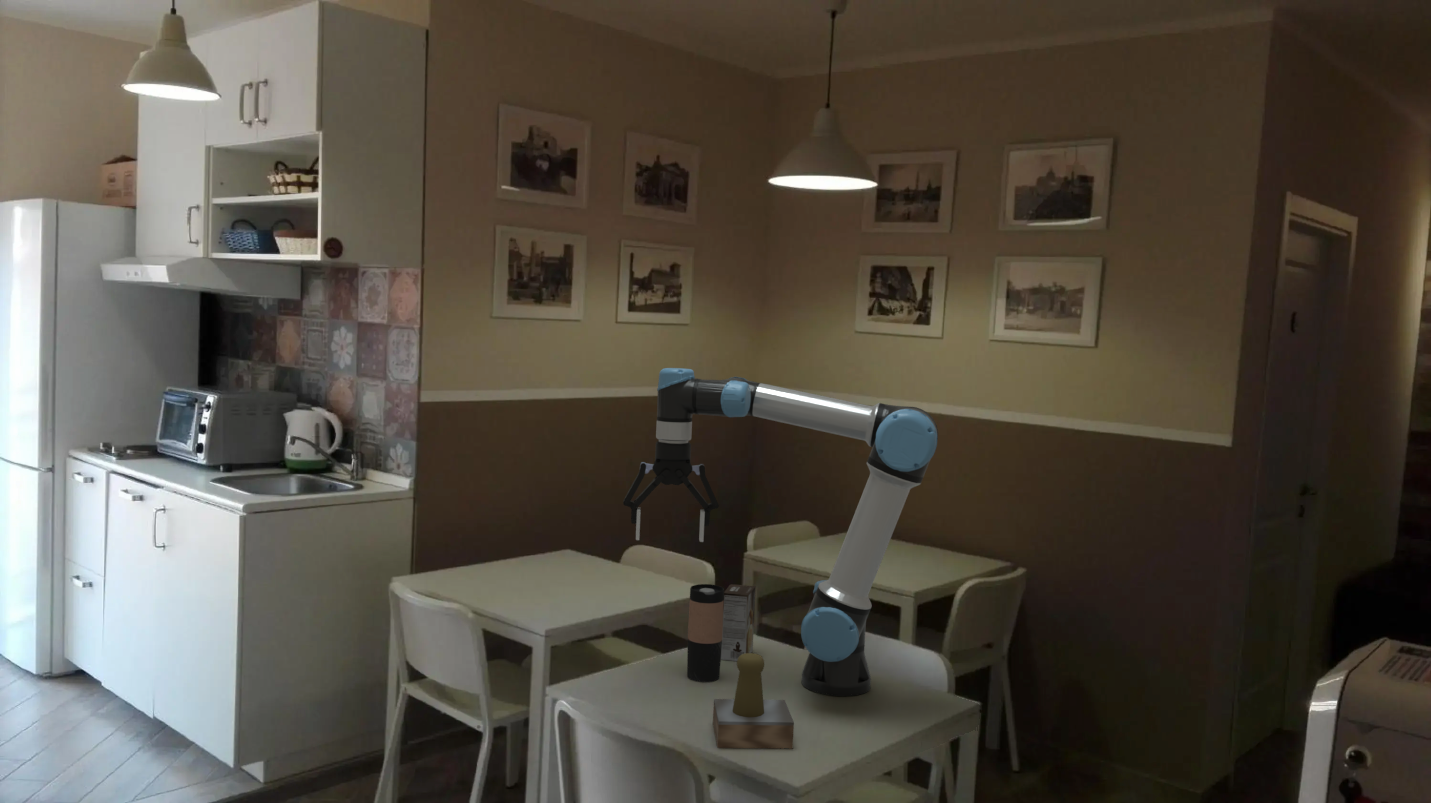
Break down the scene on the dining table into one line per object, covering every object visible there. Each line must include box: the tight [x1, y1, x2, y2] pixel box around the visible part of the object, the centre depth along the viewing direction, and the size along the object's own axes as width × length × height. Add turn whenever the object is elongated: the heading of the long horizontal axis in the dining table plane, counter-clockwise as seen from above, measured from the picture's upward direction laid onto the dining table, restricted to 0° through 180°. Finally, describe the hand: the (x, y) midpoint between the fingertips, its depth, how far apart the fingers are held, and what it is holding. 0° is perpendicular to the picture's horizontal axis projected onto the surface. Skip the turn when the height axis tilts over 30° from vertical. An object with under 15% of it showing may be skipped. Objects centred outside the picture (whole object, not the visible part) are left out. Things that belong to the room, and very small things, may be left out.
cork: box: [732, 652, 765, 717], centre depth 205 cm, size 6×6×11 cm
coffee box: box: [721, 584, 756, 662], centre depth 256 cm, size 9×6×16 cm
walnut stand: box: [712, 698, 795, 750], centre depth 207 cm, size 14×12×5 cm
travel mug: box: [686, 583, 725, 683], centre depth 239 cm, size 8×8×20 cm
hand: (669, 539), depth 231 cm, fingers open, 13 cm apart
